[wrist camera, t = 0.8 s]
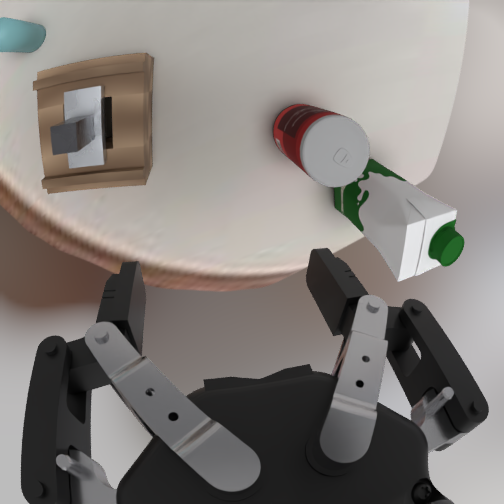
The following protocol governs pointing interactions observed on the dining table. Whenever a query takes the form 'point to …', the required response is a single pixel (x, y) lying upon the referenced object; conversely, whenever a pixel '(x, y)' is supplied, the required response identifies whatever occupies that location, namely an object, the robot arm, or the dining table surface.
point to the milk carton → (400, 221)
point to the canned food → (322, 144)
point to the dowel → (20, 35)
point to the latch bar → (81, 128)
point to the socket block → (123, 121)
